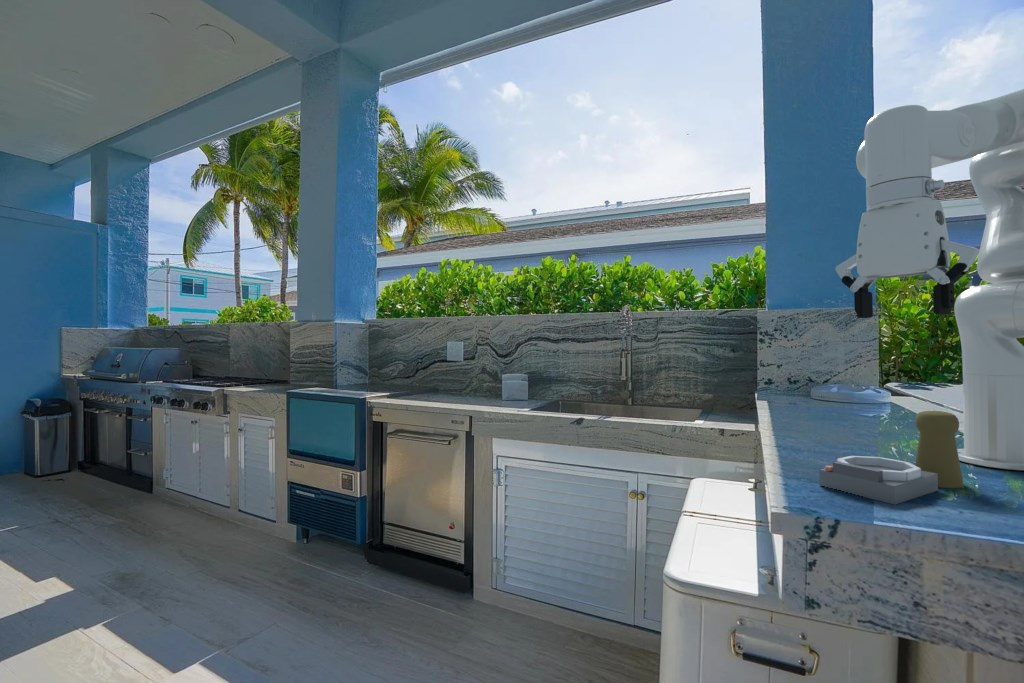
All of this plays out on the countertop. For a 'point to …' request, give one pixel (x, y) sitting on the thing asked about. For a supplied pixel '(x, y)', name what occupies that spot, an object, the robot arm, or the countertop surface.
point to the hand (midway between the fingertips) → (901, 316)
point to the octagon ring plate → (879, 478)
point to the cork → (939, 447)
